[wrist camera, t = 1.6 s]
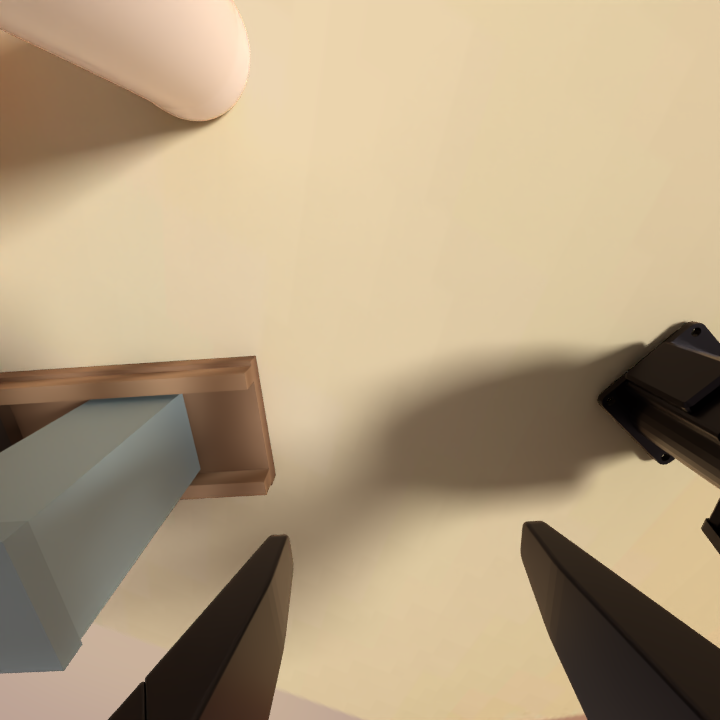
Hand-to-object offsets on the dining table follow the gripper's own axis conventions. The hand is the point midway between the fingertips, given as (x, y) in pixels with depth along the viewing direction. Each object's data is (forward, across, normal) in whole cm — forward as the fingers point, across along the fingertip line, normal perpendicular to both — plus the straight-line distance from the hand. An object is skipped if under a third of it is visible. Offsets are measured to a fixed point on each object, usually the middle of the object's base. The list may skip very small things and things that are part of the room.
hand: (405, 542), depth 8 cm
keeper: (+12, +14, +3) cm, 18 cm away
